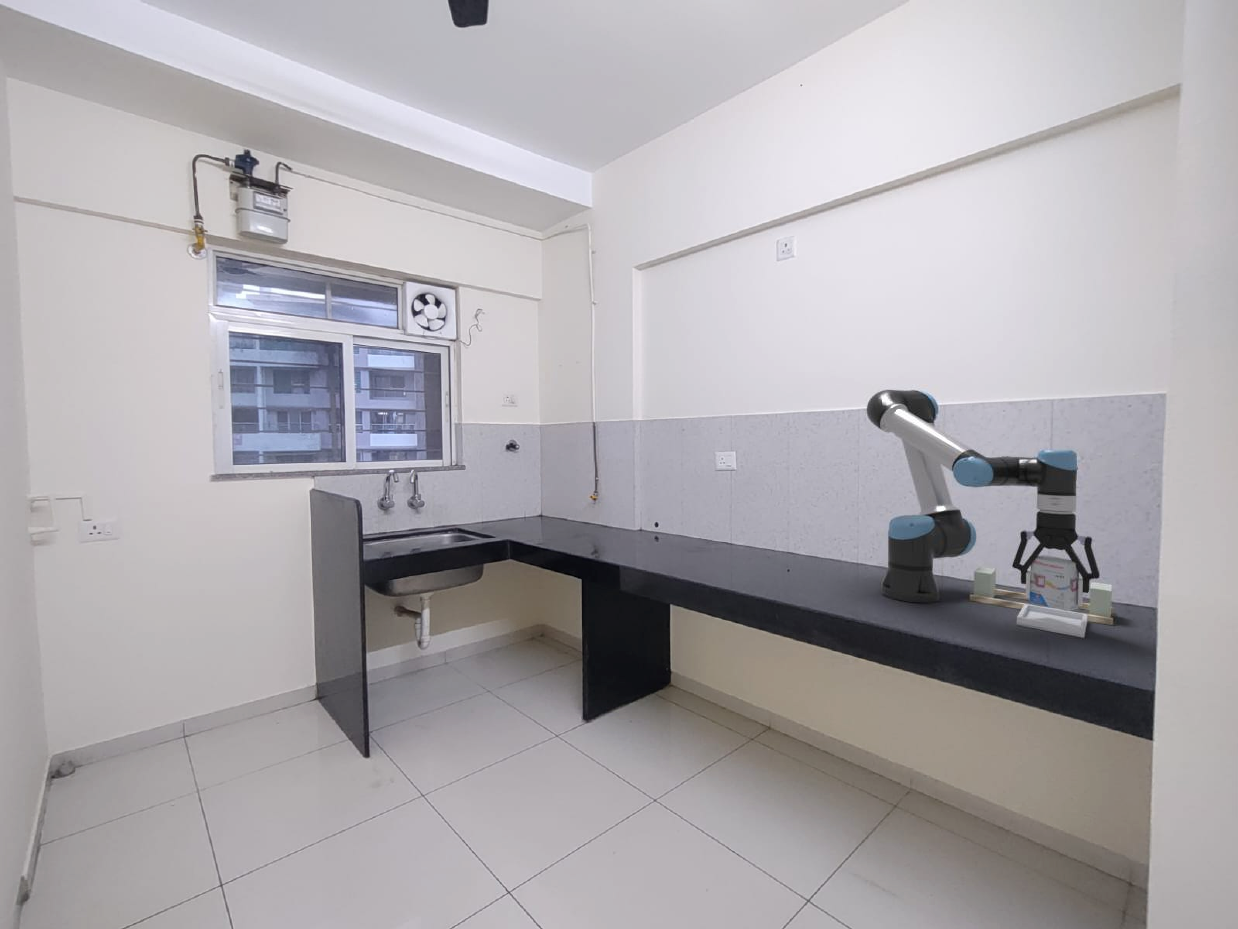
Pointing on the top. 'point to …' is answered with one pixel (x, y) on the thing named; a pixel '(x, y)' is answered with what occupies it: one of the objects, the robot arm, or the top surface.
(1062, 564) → the ink box
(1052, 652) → the top surface
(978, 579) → the block
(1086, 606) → the rail rack
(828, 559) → the top surface
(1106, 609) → the block
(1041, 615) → the tray
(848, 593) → the top surface
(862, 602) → the top surface
